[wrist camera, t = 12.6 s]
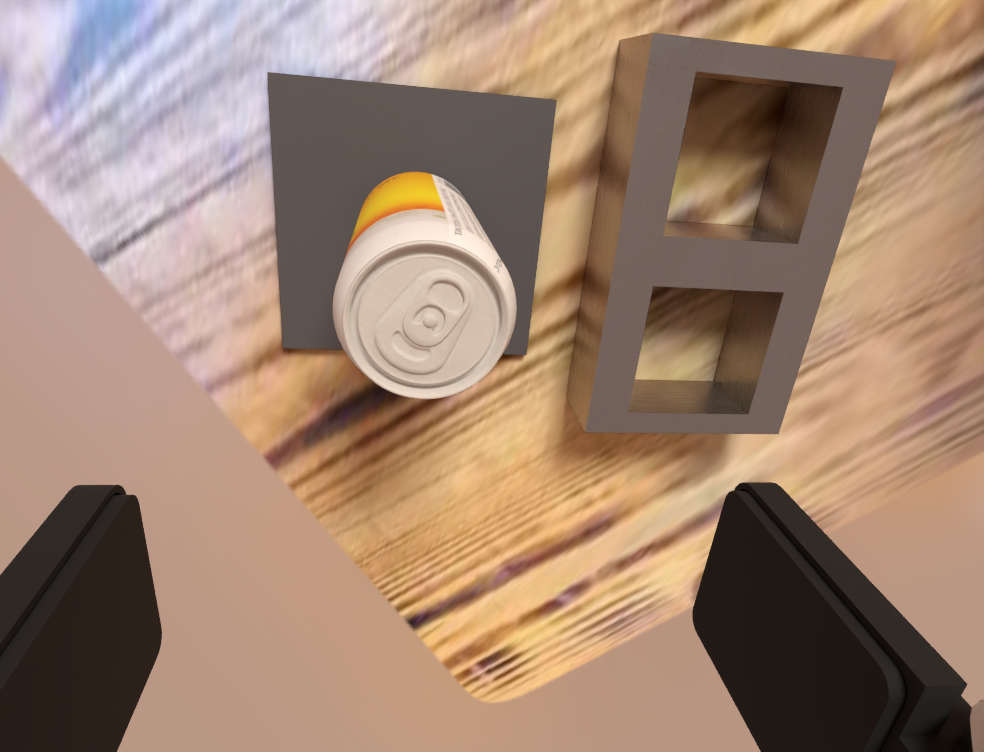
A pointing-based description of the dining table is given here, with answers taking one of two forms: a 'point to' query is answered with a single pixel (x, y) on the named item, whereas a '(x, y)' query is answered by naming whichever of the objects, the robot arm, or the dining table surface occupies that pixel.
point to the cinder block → (717, 233)
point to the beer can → (422, 291)
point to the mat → (390, 151)
